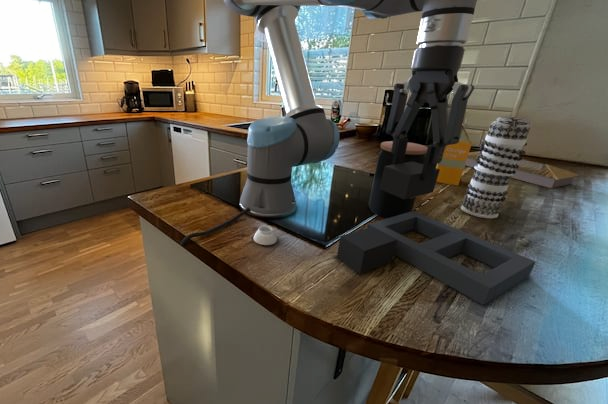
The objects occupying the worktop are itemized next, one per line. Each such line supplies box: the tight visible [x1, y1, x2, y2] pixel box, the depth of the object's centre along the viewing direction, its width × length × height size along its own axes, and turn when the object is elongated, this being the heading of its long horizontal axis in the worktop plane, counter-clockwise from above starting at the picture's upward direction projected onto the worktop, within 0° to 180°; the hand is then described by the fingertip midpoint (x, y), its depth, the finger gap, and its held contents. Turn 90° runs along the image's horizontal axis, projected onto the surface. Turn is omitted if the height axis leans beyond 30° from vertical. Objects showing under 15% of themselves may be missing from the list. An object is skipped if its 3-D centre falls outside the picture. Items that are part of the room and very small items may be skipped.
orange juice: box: [435, 124, 473, 186], centre depth 102 cm, size 8×9×20 cm
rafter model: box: [465, 150, 581, 189], centre depth 115 cm, size 35×14×6 cm, turn 23°
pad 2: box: [379, 161, 440, 199], centre depth 61 cm, size 9×6×5 cm, turn 118°
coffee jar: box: [368, 140, 428, 219], centre depth 77 cm, size 11×11×18 cm
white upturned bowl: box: [253, 225, 278, 246], centre depth 64 cm, size 5×3×5 cm
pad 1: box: [336, 226, 397, 275], centre depth 58 cm, size 9×6×5 cm, turn 118°
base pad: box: [366, 210, 537, 306], centre depth 60 cm, size 16×24×4 cm, turn 28°
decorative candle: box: [460, 116, 534, 219], centre depth 77 cm, size 9×9×25 cm
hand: (410, 174), depth 60 cm, fingers closed on pad 2, 6 cm apart
